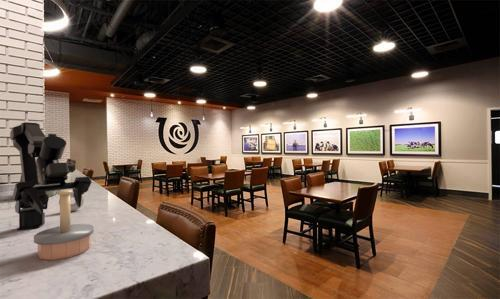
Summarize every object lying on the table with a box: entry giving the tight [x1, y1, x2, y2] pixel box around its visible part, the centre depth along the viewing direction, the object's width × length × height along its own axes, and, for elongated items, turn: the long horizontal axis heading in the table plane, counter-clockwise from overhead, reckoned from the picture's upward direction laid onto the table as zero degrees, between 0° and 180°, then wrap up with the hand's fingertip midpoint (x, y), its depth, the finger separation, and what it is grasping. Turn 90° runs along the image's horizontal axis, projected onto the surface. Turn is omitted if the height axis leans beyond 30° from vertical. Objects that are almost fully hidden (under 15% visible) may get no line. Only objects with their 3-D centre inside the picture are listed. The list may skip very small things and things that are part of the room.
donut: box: [58, 189, 85, 212], centre depth 119 cm, size 10×4×10 cm, turn 134°
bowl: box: [37, 234, 92, 261], centre depth 73 cm, size 12×12×4 cm
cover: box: [33, 189, 95, 245], centre depth 73 cm, size 14×14×13 cm
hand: (61, 209), depth 75 cm, fingers open, 9 cm apart
